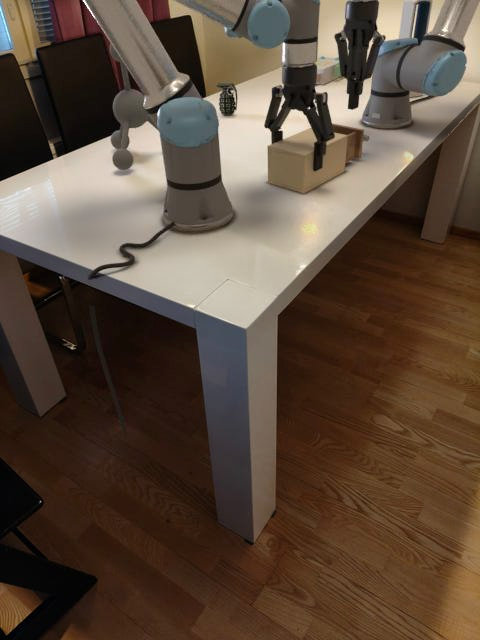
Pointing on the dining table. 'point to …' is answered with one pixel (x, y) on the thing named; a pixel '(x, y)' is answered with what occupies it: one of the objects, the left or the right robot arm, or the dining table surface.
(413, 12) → the electronic device
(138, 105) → the molecular model
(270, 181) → the tan cardboard box
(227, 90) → the grenade
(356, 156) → the drawer
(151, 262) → the dining table surface
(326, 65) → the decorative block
